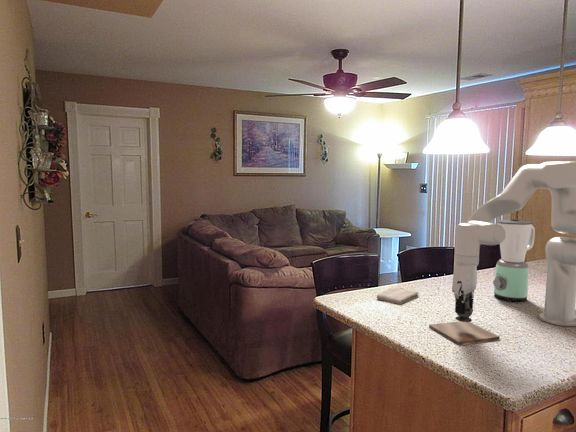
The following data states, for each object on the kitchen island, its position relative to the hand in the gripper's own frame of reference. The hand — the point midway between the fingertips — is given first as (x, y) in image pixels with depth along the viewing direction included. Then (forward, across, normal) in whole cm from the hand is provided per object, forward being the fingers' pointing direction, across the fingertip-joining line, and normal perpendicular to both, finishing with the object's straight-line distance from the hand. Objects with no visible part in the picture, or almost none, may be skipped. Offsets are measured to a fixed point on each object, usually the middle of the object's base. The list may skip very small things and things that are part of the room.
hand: (463, 310), depth 147 cm
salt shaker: (+3, 0, 0) cm, 3 cm away
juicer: (+8, -56, -1) cm, 57 cm away
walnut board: (+8, 0, 0) cm, 8 cm away
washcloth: (+9, -22, -37) cm, 44 cm away
